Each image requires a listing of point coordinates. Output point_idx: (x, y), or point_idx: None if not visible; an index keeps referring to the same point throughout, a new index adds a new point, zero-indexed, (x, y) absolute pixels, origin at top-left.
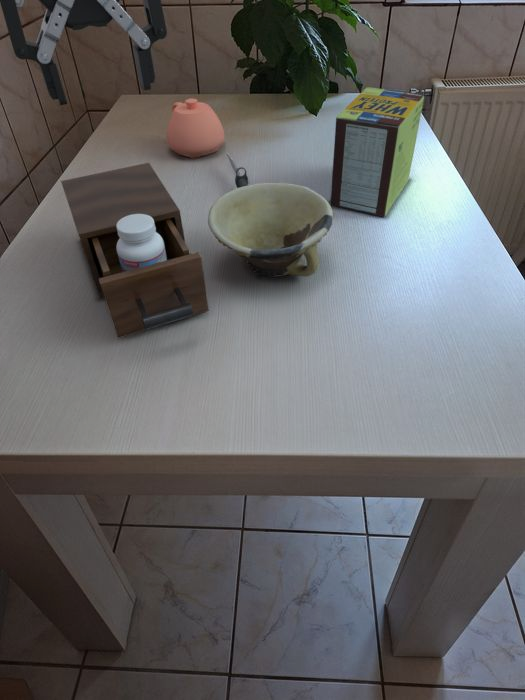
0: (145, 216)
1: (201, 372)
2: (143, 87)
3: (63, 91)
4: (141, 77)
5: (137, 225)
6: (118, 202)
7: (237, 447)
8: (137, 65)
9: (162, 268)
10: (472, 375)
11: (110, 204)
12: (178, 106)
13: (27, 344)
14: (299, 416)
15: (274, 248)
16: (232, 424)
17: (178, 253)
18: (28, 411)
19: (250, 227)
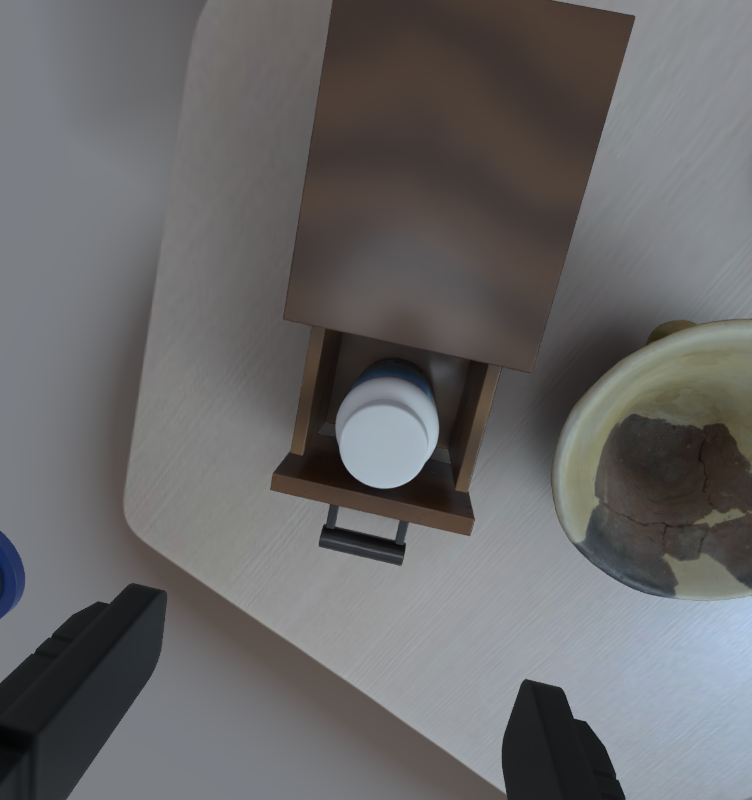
0: (416, 436)
1: (380, 564)
2: (506, 746)
3: (125, 709)
4: (516, 787)
5: (382, 461)
6: (425, 229)
7: (353, 679)
8: (541, 797)
9: (389, 517)
10: (665, 778)
11: (402, 227)
12: None
13: (180, 348)
14: (440, 692)
15: (681, 416)
16: (366, 653)
17: (464, 428)
18: (155, 481)
19: (678, 378)
